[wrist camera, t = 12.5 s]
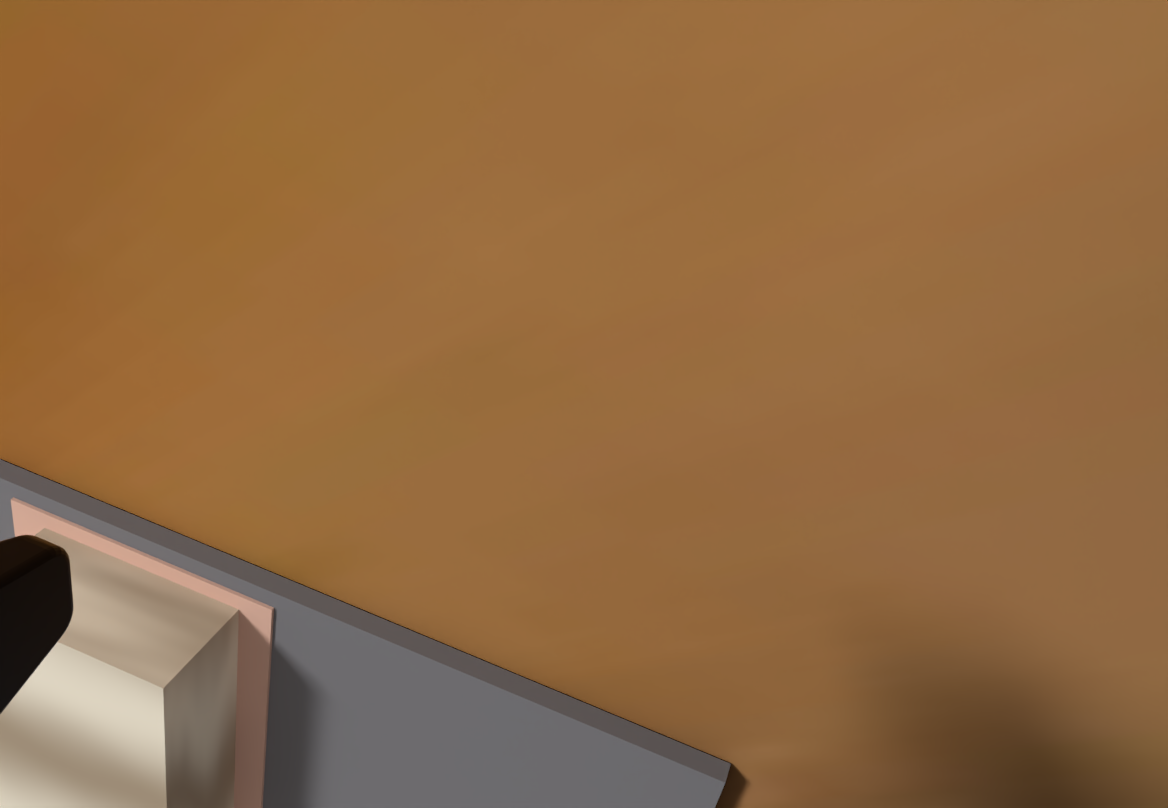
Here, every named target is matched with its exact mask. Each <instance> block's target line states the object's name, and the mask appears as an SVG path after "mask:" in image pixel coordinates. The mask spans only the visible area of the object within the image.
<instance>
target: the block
mask: <svg viewBox="0 0 1168 808" xmlns="http://www.w3.org/2000/svg"><path fill="white" fill-rule="evenodd" d="M34 536H37V537H39V538H41V539H44V540H46V541H48V542H51V543H53V544H55V545H58V546H60V547H62V548H63V549H65V551H66V552H67V554H68V555H69V559H70V569H71V581H72V594H73V614H72V618H71V621H70V624H69V626H68V627H67V629H66V631H65V633H64V634H63V635H62V637H61V638H60V639H59V641H58V642H57V643H56V644H55V646H54V647H53V648H52V650H51V651H50V652H49V653H48V655H47V656H46V657H45V658H44V660H43V661H42V662H41V663H40V665H39V666H38V667H37V669H36V670H35V671H34V672H33V674H32V675H31V676H30V677H29V679H28V680H27V681H26V683H25V684H24V685H23V686H22V688H21V689H20V690H19V691H18V693H17V694H16V695H15V697H14V698H13V699H12V700H11V702H10V703H9V704H8V705H7V707H6V708H5V709H4V710H3V712H2V713H1V714H0V808H234V782H235V742H236V702H237V662H238V622H239V609H236V608H234V607H232V606H229V605H227V604H225V603H222V602H220V601H217V600H215V599H213V598H210V597H208V596H206V595H203V594H201V593H198V592H196V591H194V590H191V589H189V588H187V587H184V586H182V585H179V584H177V583H175V582H172V581H170V580H168V579H165V578H163V577H160V576H158V575H156V574H153V573H151V572H149V571H146V570H144V569H141V568H139V567H137V566H134V565H132V564H130V563H127V562H125V561H122V560H120V559H118V558H115V557H113V556H111V555H108V554H106V553H103V552H101V551H99V550H96V549H94V548H92V547H89V546H87V545H84V544H82V543H80V542H77V541H75V540H73V539H70V538H68V537H65V536H63V535H61V534H58V533H56V532H54V531H51V530H49V529H46V528H44V529H42V530H41V531H40V532H38V533H37V534H36V535H34Z"/></svg>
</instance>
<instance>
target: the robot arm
mask: <svg viewBox="0 0 1168 808" xmlns="http://www.w3.org/2000/svg"><path fill="white" fill-rule="evenodd" d="M72 614H73V594H72V581H71V569H70V559H69V555H68V554H67V552H66V551H65V549H63V548H62V547H60V546H58V545H55V544H53V543H51V542H48V541H46V540H44V539H41V538H39V537H37V536H33V535H21V536H16V537H13V538H10V539H6V540H3V541H0V714H1V713H2V712H3V710H4V709H5V708H6V707H7V705H8V704H9V703H10V702H11V700H12V699H13V698H14V697H15V695H16V694H17V693H18V691H19V690H20V689H21V688H22V686H23V685H24V684H25V683H26V681H27V680H28V679H29V677H30V676H31V675H32V674H33V672H34V671H35V670H36V669H37V667H38V666H39V665H40V663H41V662H42V661H43V660H44V658H45V657H46V656H47V655H48V653H49V652H50V651H51V650H52V648H53V647H54V646H55V644H56V643H57V642H58V641H59V639H60V638H61V637H62V635H63V634H64V633H65V631H66V629H67V627H68V626H69V624H70V621H71V618H72Z"/></svg>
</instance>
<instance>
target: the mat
mask: <svg viewBox="0 0 1168 808" xmlns="http://www.w3.org/2000/svg"><path fill="white" fill-rule="evenodd" d="M44 528H46V529H49V530H51V531H54V532H56V533H58V534H61V535H63V536H65V537H68V538H70V539H73V540H75V541H77V542H80V543H82V544H84V545H87V546H89V547H92V548H94V549H96V550H99V551H101V552H103V553H106V554H108V555H111V556H113V557H115V558H118V559H120V560H122V561H125V562H127V563H130V564H132V565H134V566H137V567H139V568H141V569H144V570H146V571H149V572H151V573H153V574H156V575H158V576H160V577H163V578H165V579H168V580H170V581H172V582H175V583H177V584H179V585H182V586H184V587H187V588H189V589H191V590H194V591H196V592H198V593H201V594H203V595H206V596H208V597H210V598H213V599H215V600H217V601H220V602H222V603H225V604H227V605H229V606H232V607H234V608H236V609H239V622H238V662H237V702H236V742H235V782H234V808H715V806H716V804H717V802H718V799H719V797H720V795H721V792H722V790H723V787H724V785H725V783H726V779H727V776H728V772H729V769H730V765H731V764H730V763H728V762H725V761H723V760H721V759H718V758H716V757H713V756H711V755H709V754H706V753H704V752H701V751H699V750H697V749H694V748H692V747H689V746H687V745H685V744H682V743H680V742H677V741H675V740H673V739H670V738H668V737H665V736H663V735H661V734H658V733H656V732H653V731H651V730H649V729H646V728H644V727H641V726H639V725H637V724H634V723H632V722H629V721H627V720H625V719H622V718H620V717H617V716H615V715H613V714H610V713H608V712H605V711H603V710H601V709H598V708H596V707H593V706H591V705H589V704H586V703H584V702H581V701H579V700H577V699H574V698H572V697H569V696H567V695H565V694H562V693H560V692H557V691H555V690H553V689H550V688H548V687H545V686H543V685H541V684H538V683H536V682H533V681H531V680H529V679H526V678H524V677H521V676H519V675H517V674H514V673H512V672H509V671H507V670H505V669H502V668H500V667H497V666H495V665H493V664H490V663H488V662H485V661H483V660H481V659H478V658H476V657H473V656H471V655H469V654H466V653H464V652H461V651H459V650H457V649H454V648H452V647H449V646H447V645H445V644H442V643H440V642H437V641H435V640H433V639H430V638H428V637H425V636H423V635H421V634H418V633H416V632H413V631H411V630H409V629H406V628H404V627H401V626H399V625H397V624H394V623H392V622H389V621H387V620H385V619H382V618H380V617H377V616H375V615H373V614H370V613H368V612H365V611H363V610H361V609H358V608H356V607H353V606H351V605H349V604H346V603H344V602H341V601H339V600H337V599H334V598H332V597H329V596H327V595H325V594H322V593H320V592H317V591H315V590H313V589H310V588H308V587H305V586H303V585H301V584H298V583H296V582H293V581H291V580H289V579H286V578H284V577H281V576H279V575H277V574H274V573H272V572H269V571H267V570H265V569H262V568H260V567H257V566H255V565H253V564H250V563H248V562H245V561H243V560H241V559H238V558H236V557H233V556H231V555H229V554H226V553H224V552H221V551H219V550H217V549H214V548H212V547H209V546H207V545H205V544H202V543H200V542H197V541H195V540H193V539H190V538H188V537H185V536H183V535H181V534H178V533H176V532H173V531H171V530H169V529H166V528H164V527H161V526H159V525H157V524H154V523H152V522H149V521H147V520H145V519H142V518H140V517H137V516H135V515H133V514H130V513H128V512H125V511H123V510H121V509H118V508H116V507H113V506H111V505H109V504H106V503H104V502H101V501H99V500H97V499H94V498H92V497H89V496H87V495H85V494H82V493H80V492H77V491H75V490H73V489H70V488H68V487H65V486H63V485H61V484H58V483H56V482H53V481H51V480H49V479H46V478H44V477H41V476H39V475H37V474H34V473H32V472H29V471H27V470H25V469H22V468H20V467H17V466H15V465H13V464H10V463H8V462H5V461H3V460H1V459H0V541H3V540H6V539H10V538H13V537H16V536H21V535H33V536H34V535H36V534H37V533H38V532H40V531H41V530H42V529H44Z"/></svg>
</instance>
